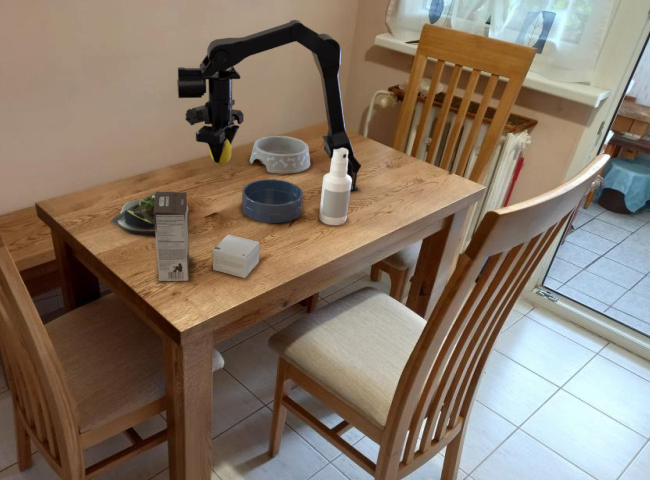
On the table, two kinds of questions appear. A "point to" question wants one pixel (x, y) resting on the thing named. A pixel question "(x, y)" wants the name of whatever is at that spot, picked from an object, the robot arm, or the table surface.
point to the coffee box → (172, 235)
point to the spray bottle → (336, 190)
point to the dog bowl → (281, 154)
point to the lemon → (224, 154)
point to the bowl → (272, 201)
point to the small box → (236, 256)
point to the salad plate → (138, 217)
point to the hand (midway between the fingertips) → (220, 158)
